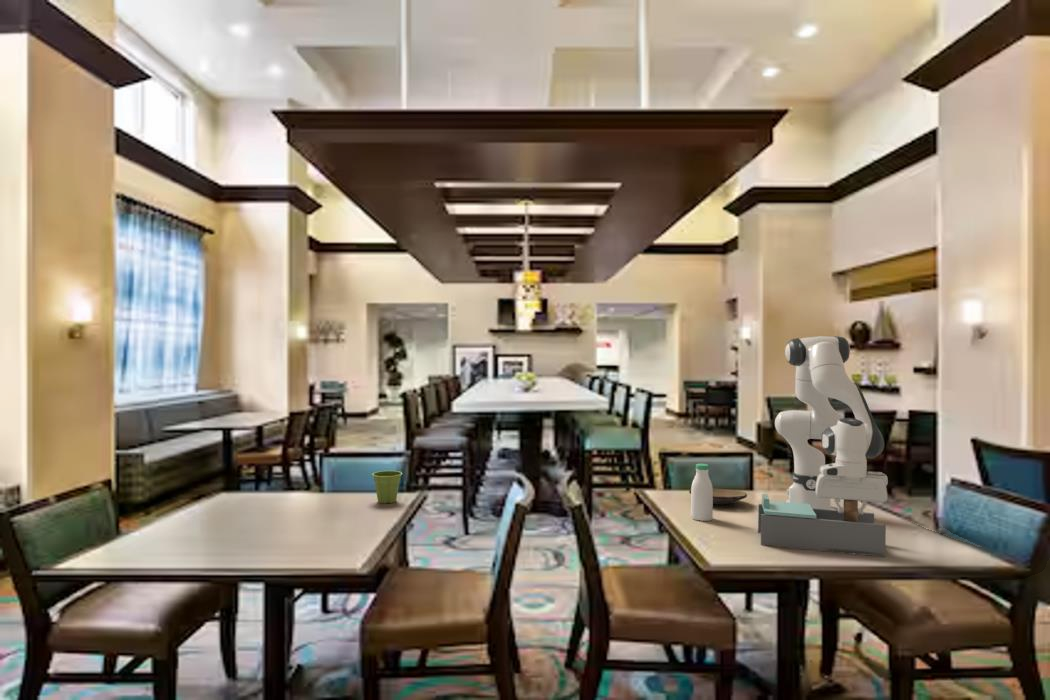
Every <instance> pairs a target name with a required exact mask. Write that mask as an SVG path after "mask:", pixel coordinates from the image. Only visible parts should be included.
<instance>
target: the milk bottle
mask: <svg viewBox="0 0 1050 700" xmlns="http://www.w3.org/2000/svg"><path fill="white" fill-rule="evenodd" d="M709 468H710V466H709V464H707V463H697V464H696V463H695V471H696V473H695V475H694V476H695V478H694V479H692V483H691V488H690V490H691V494H690V518H691V519H692V518H693V519H692V520H695V521H699V520H700V521H701V522H702V521H703V522H708V521H712V520H713V518H714V517H713V516H714V515H713V514H714V513H713V512H714V511H713V510H714V508H713V507H714V504H713V484H712V483H713V482H712V481H711V478H710V475H709V471H710V470H709Z"/></svg>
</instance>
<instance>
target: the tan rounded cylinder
mask: <svg viewBox="0 0 1050 700" xmlns="http://www.w3.org/2000/svg"><path fill="white" fill-rule="evenodd" d="M858 504H859V501H858V500H845V499H843V507H844V513H843V521H849V522H858V508H859V505H858Z"/></svg>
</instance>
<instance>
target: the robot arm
mask: <svg viewBox="0 0 1050 700" xmlns="http://www.w3.org/2000/svg"><path fill="white" fill-rule="evenodd" d="M850 354H851V347H850V344H849V341H848V340H847V339H846V338H845V337H843V336H838V335H835V336H828V335H827V336H825V335H824V336H823V335H818V336H810V337H809V336H807V337H802V338H799V337H796V338H791V339H789V341H788V342H787V343H786V345H785V350H784V355H785V358H786V361H787V362H788V364H789V365H791V366H794V367H795V379H794V380H795V383H794V385H795V392H794V393H795V397H796V398H797V399H798V401H800V402H802V403H804V404H806V405H808V406H809V407H810V408H811V409H812V410H796V409H795V410H793V409H792V410H784V411H780V412H778V414H777V415H776V417H775V418H774V419H775V420H774V428H775V430H776V431H777V433H778V434H779V435H780V436H781V437H783V438H784V439H785V440H786V442H787V443H788V444H789V445H790V448H791V450H792V454H793V463H794V464H793V465H794V466H793V467H794V468H793V469H794V471H793V473H792V474H793V475H792V482H793V483H792V484H791V485H790V486H789V488H788V489H786V496H787V499H786V500H785V502H791V503H803V504H810V506H811V507H812V508H817V509H830V510H836V508H834V507H833V506H832V502H831V499H833V500H834V503H835V504H836V506H837V510H838V513H844V506H841V505H840V503H841V500H844V499H845V500H858V502H859V501H860V503H861V505H860V506H859V507H858V515H863V512H864V510H865V509H866V508H867V506H868V502H872V503H886V502H887V501H888V491H887V490H888V489H887V486H888V483H889V480H888V479H889V478H888V476H887V474H885V473H883V472H881V471H870V470H867V466H868V465H867V464H868V463H867V462H868V461H867V458H868V459H875V458H877V457H878V456H879V455H880V454H881V453H882V452H883V451H884V448H885V439H884V436H883V434H882V432H881V431H880V429H879V428H878V426H877V424H876V421H875V419H874V417H873V415H872V412H871V409H870V408H869V405H868V403H867V400H866V397H865V396H864V393H863V392H862V390H861V388H860V386H859V385H858V384H856V383H854V382H853V381H852V380H851V378H850V377H849V376H848V374H847V372H846V369H845V365H844V364H845V363H846V362H847V361H848V360H849V358H850ZM829 398H831V399H835V400H837V401H840V402H842V403H843V404H846V405H847V406H848V407H849V408H850V409H851V411H852V413H853V415H854V417H853V418H852V417H844V416H843V415H842V414H841V413H839V412H838V411H836V410H835V409H834V407H833V405H831V403H830V401H829ZM810 439H813V440H821V448H822V449H823V450H824V452H826V453H827V454H828V455H832V456H835V462H832V463H828V464H826V456H825V454H824V453H823V452H822V451H821V450H819V449H818V448H816V447H814V446H812V445H811V444H809V442H808V440H810Z"/></svg>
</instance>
